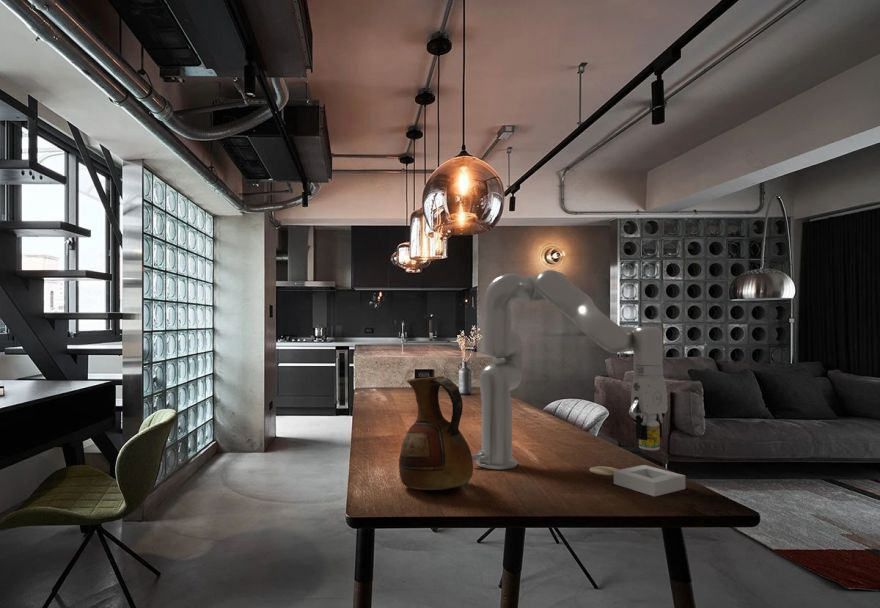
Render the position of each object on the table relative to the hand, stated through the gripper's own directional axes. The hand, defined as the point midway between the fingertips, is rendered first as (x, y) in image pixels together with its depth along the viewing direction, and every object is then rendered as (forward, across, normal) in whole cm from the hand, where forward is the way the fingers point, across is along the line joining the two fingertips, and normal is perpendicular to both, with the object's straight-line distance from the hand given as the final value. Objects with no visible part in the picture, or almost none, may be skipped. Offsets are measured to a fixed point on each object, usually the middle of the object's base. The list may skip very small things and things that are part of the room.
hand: (648, 437), depth 147 cm
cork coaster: (+13, +2, +17) cm, 22 cm away
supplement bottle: (+3, 0, 0) cm, 3 cm away
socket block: (+13, 0, 0) cm, 13 cm away
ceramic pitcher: (+13, -51, +28) cm, 60 cm away
